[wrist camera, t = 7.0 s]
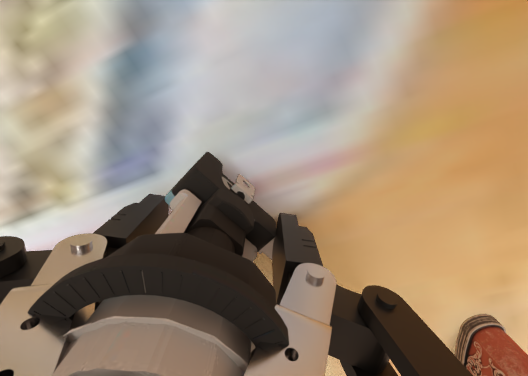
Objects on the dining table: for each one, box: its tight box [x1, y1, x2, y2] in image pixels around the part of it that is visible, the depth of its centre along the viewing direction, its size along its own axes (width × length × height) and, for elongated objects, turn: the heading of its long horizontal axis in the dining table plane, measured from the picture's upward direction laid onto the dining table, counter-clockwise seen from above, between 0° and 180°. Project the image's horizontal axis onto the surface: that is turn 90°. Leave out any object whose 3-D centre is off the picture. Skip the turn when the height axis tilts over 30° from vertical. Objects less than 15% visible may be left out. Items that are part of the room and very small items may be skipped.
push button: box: [27, 152, 289, 376], centre depth 9 cm, size 7×5×10 cm
